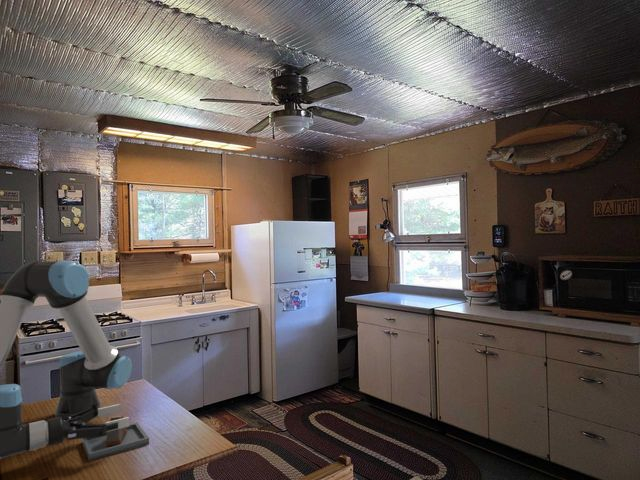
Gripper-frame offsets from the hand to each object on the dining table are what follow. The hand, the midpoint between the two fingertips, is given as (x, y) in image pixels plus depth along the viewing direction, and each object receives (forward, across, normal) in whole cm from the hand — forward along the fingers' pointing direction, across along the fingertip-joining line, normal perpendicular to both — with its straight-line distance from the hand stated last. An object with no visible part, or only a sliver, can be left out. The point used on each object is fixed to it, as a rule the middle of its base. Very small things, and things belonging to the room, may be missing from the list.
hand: (124, 414), depth 140 cm
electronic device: (-2, 0, -8) cm, 8 cm away
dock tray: (-3, 0, -8) cm, 9 cm away
